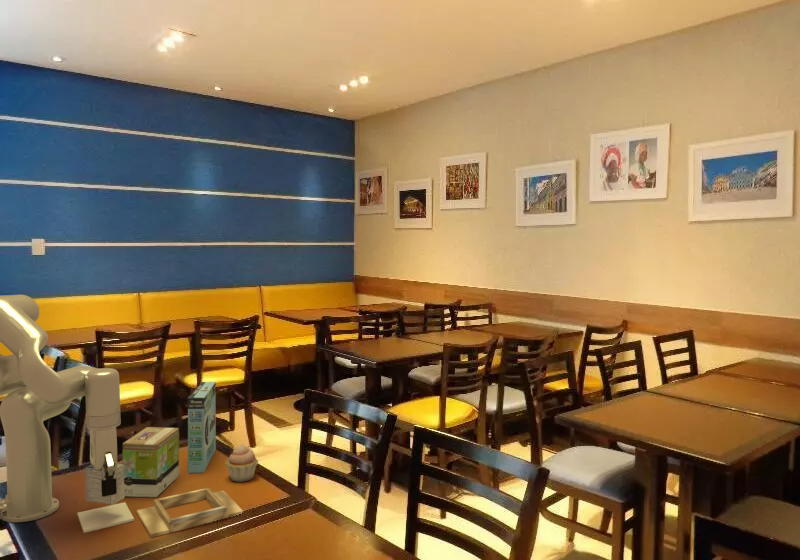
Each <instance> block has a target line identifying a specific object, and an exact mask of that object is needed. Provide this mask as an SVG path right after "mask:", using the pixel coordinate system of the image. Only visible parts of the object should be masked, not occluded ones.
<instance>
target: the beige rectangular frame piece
mask: <svg viewBox="0 0 800 560" xmlns="http://www.w3.org/2000/svg"><path fill="white" fill-rule="evenodd" d="M202 500H207V501H208V503H209V504H210V505H211V506H212V507H213V508H209V509H206V510H201V511H197V512H193V513H189V514H185V515H181V516H177V517H173V518H172V517H171V516H170V515H169V513H168V512H167V510H166V509H168V508H173V507H177V506H181V505H182V506H183V505H185V504H189V503H194V502H197V501H198V502H199V501H202ZM242 513H243V514H244V510H243V509H242V508H241V507H240V506H239V505H238V504H237V502H235V501H234V499H233V498H231V497H230V496H229V494H227V492H226V491H224V490H219V491H213V490H211V488H210V487H205V488H200V489H196V490H192V491H191V490H190V491H187V492H181V493H178V494H177V493H176V494H173V495H169V496H165V497H161V498H156V499H153V506H150V507H149V506H148V507H145V508H140V509H136V514H137V515H138V517H139V519H140V521H141V523H142V524H143V526H144V528H145V530H146V531H147V533H148V536H149V537H150V538H151V539H152V538H155V537H158V536H164V535H167V534H172V533H175V532H178V531H183V530H186V529H191V528H194V527H199V526H201V525H206V524H210V523H214V522H217V520H218V521H221V519H222V520H225V518H226V519H229V517H230V518H233V516H234V517H237V516H240V515H239V514H241V515H243V514H242ZM236 515H237V516H236ZM213 521H214V522H213ZM205 523H206V524H205Z"/></svg>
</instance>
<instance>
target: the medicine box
mask: <svg viewBox="0 0 800 560" xmlns="http://www.w3.org/2000/svg"><path fill="white" fill-rule="evenodd" d="M106 466H107V465H106ZM106 466H103V467H106ZM84 471H85V472H84V474H85V475H84V476H85V499H86V500H85V501H86V502H93V503H99V504H104V505H105V504H106V505H115V504H117V503H118V502H119V501H121V500H123V499H125V498H126V496H125V493H124V468H123V465H122V464H121V463H117V466H116V467H115V474H116V486H117V493H116V494H114V495H109V496H105V497H103V496H102V488H101V480H103V478H102V471H101V469H100V470H98V471H96V470H94V468H93V466H92V464H91V463H90V464H89V465H87V466H86V467H84ZM106 471H107V470H105V473H106Z"/></svg>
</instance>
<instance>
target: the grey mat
mask: <svg viewBox="0 0 800 560" xmlns="http://www.w3.org/2000/svg"><path fill="white" fill-rule="evenodd" d="M77 517H78V520H79V523H80V526H81V529H82V531H83V534H84V533H85V534H86V533H89V532H93V531H97V530H103V529H107V528H110V527H115V526H119V525H122V524H127V523H131V522H134V521H135V518H134V516H133V514H132V512H131V510H130V509H129V507H128V505H127V503H126V501H124V502H120V503H115V504H113V505H111V504H109V505H106V506H101V507H97V508H92V509H88V510H85V511H78V512H77Z"/></svg>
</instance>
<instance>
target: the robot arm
mask: <svg viewBox="0 0 800 560" xmlns="http://www.w3.org/2000/svg"><path fill="white" fill-rule="evenodd" d="M39 317H40V308H39V304H38V303H37V302H36V300H34V299H33V298H32V297H30V296H28V295H25V294H9V295H8V294H7V295H0V343H1V344H2V345H4V347H6V348H7V349H8V350H9V352H11V354H7V355H3V354H1V353H0V397H2V396H5V395H6V396H5V397H4V398H3V399H2V401H1V404H0V421H1V424H2V428H3V432H4V433H3V434H4V439H5V440H4V441H5V459H6V460H5V463H6V464H5V465H6V492H7V494H5V498H0V519H1V520H2V521H5V522H8V523H25V522H32V521H35V520H39V519H40V520H41V519H42V518H45V517H47V516H49V515H52V514H54V513H55V512H56V511H57V510H58V509H59V507H60V500H58V498H55V497H53V492H52V491H53V489H52V488H53V487H52V486H53V485H52V483H53V482H52V454H51V453H52V451H51V437H50V434H49V432H48V430H47V428H46V427H45V424H44V421H47V420H48V419H51V418H53V417H56V416H59V415H60V414H63V413H64V412H65V411H67V410H68V409H69V407H70V406H71V403H72V401H73V400H76V399H79V398H83V397H85V420H86V421H85V422H86V426H85V427H86V429H87V430H89V461H90V465H91V464H92V466H93V468H94V470H96V471H98V470H100V469H101V471H102V478H103V480H101V488H102V496H103V497H105V496H109V495H114V494H116V493H117V486H116V474H115V467H116V466H117V464H118V441H117V440H118V438H117V437H118V436H117V427H119V426H120V425H121V424H122V423H121V422H122V421H121V420H122V419H121V392H120V374H119V371H118V370H117V369H115V368H112V367H111V368H109V367H105V368H104V367H103V368H97V367H94V366H89V365H76V366H73V367H70V368H66V369H62V370H60V371H55V370H54V369H53V368H52V367H50V365H48V364H47V363H46V361H44V359H43V358H42V357H41V353H40V352H41V351H42V350H43V348H44V347H45V346H46V345H47V342H48V340H49V335H48V333H47V331H46V330H45V329H43V327H41V326H40V325H39V324H38V323H37V321H38V319H39ZM106 465H107V466H106ZM103 466H106V467H103ZM105 470H107V471H106V473H105Z"/></svg>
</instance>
